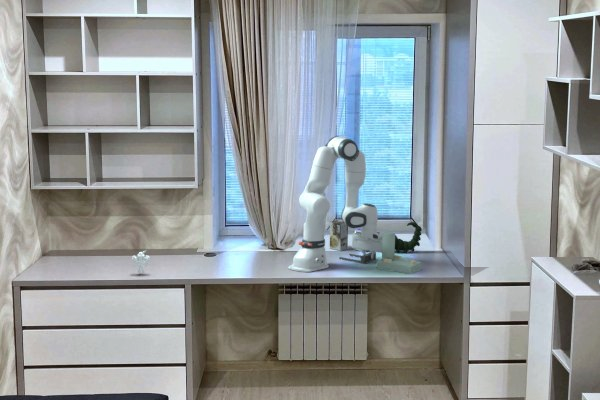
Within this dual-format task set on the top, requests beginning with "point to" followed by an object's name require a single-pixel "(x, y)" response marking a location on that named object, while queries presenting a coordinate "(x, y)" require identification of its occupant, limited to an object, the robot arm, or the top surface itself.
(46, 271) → the top surface
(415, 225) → the toy figurine
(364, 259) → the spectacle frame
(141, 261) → the hat wearing toy figure
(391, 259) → the flanged cylinder mount
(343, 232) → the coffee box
